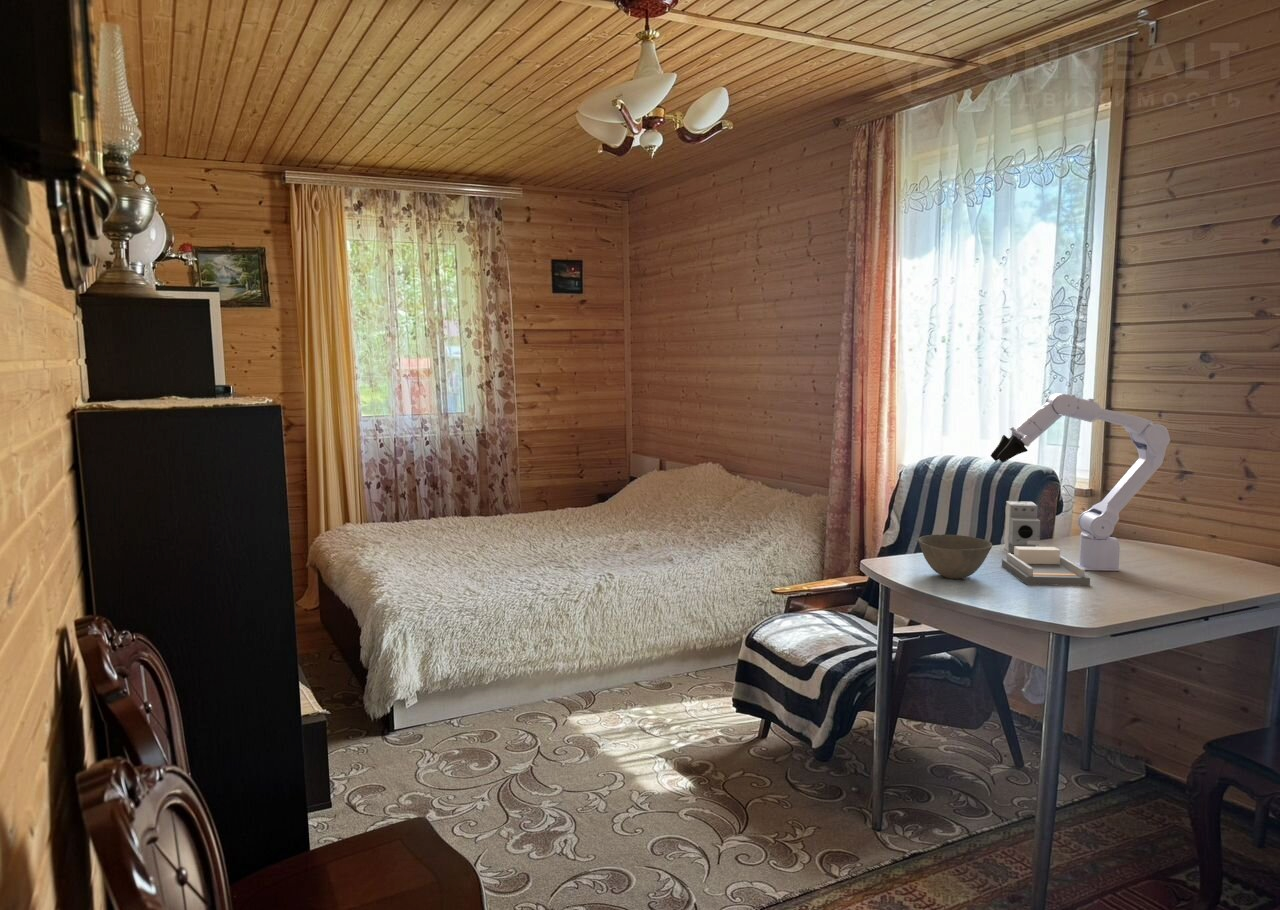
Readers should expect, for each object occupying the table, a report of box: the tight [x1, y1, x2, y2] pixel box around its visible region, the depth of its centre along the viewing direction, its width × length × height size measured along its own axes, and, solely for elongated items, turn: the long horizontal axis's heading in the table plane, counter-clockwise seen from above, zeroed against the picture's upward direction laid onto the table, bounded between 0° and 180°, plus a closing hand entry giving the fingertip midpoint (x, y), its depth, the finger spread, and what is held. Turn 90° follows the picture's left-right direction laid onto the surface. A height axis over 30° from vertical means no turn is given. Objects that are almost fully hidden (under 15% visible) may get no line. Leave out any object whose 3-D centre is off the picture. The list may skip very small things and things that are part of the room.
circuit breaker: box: [1003, 500, 1041, 553], centre depth 255 cm, size 8×14×15 cm, turn 166°
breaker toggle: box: [1013, 546, 1061, 564], centre depth 235 cm, size 11×4×4 cm, turn 84°
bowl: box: [917, 533, 993, 580], centre depth 228 cm, size 19×19×10 cm
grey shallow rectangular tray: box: [1001, 552, 1091, 586], centre depth 229 cm, size 16×20×4 cm
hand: (996, 459), depth 237 cm, fingers open, 7 cm apart
